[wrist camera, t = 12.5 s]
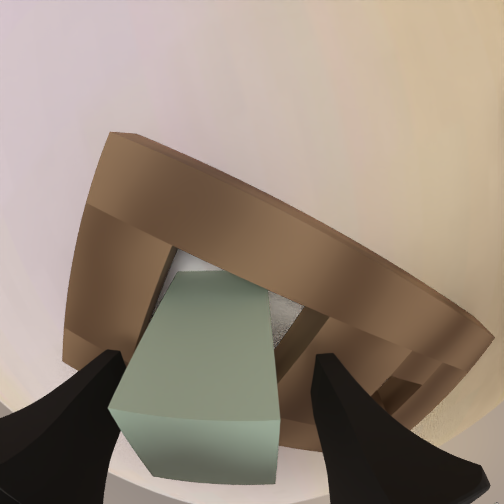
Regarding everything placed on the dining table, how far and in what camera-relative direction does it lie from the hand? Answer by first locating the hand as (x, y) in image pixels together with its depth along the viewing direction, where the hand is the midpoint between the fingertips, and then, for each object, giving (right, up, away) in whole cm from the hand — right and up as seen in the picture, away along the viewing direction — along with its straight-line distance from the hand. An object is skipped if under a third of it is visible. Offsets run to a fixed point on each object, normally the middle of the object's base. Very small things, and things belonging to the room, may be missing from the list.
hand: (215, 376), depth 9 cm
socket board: (+3, 0, +5) cm, 6 cm away
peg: (0, +2, +4) cm, 4 cm away
